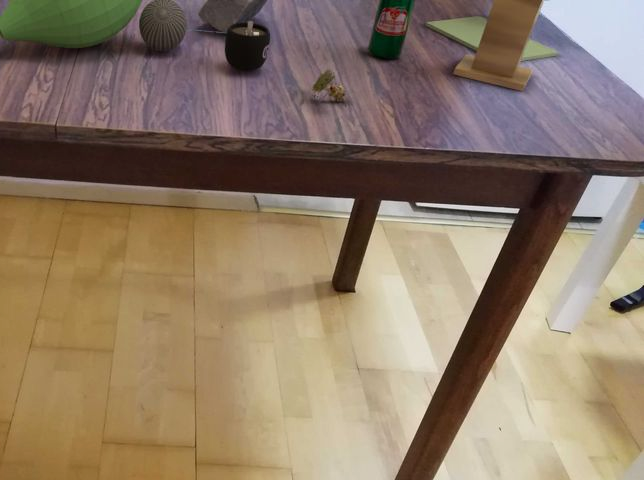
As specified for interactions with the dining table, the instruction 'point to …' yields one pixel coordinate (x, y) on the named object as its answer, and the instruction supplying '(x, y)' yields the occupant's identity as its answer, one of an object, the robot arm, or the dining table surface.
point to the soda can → (390, 28)
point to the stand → (503, 45)
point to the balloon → (66, 21)
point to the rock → (229, 12)
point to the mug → (247, 46)
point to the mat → (471, 33)
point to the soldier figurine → (325, 81)
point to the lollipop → (163, 25)
